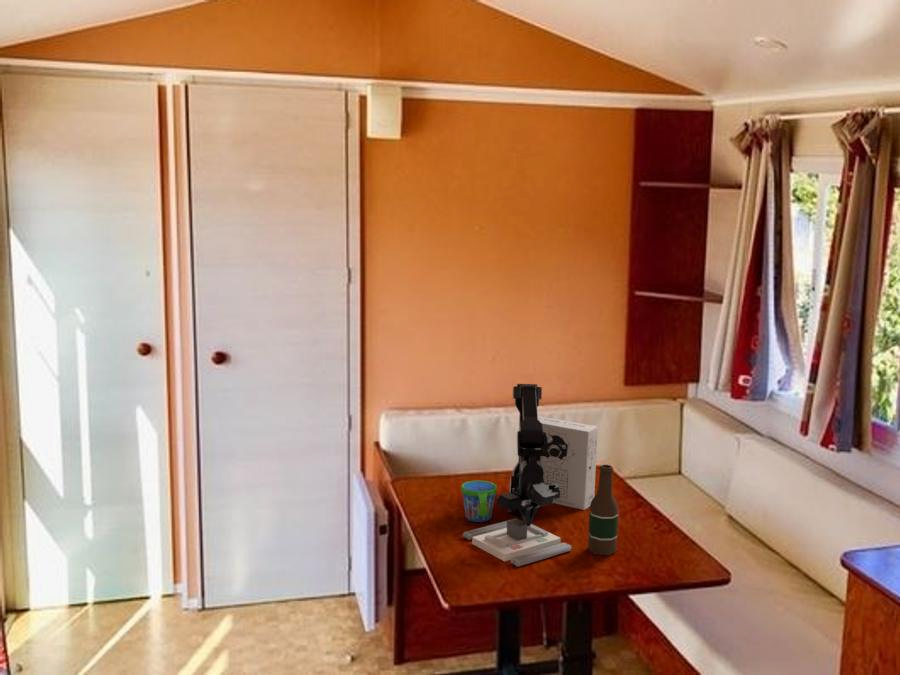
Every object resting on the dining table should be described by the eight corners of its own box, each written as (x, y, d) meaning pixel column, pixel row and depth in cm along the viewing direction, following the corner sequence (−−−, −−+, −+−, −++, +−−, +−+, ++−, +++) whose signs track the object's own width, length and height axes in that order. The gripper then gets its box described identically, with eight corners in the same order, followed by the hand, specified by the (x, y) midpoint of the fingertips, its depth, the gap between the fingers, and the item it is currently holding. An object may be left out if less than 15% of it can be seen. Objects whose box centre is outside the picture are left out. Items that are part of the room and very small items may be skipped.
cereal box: (594, 503, 281) (598, 426, 277) (584, 510, 275) (588, 431, 271) (532, 489, 293) (535, 415, 288) (521, 496, 286) (524, 420, 282)
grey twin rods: (515, 523, 263) (515, 517, 263) (573, 551, 244) (573, 545, 244) (461, 537, 252) (461, 531, 252) (517, 568, 233) (517, 561, 232)
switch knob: (514, 532, 250) (515, 518, 250) (526, 538, 246) (527, 524, 246) (506, 534, 249) (507, 520, 248) (518, 540, 245) (518, 526, 244)
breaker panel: (527, 528, 259) (527, 518, 259) (560, 544, 248) (560, 534, 248) (472, 543, 248) (472, 533, 247) (504, 561, 237) (504, 550, 236)
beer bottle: (599, 558, 240) (603, 472, 236) (581, 547, 247) (586, 463, 243) (622, 553, 244) (627, 468, 239) (604, 542, 250) (609, 460, 246)
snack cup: (459, 508, 274) (460, 476, 272) (493, 509, 274) (494, 477, 273) (461, 528, 259) (462, 494, 257) (498, 528, 259) (499, 495, 257)
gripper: (523, 486, 235) (521, 542, 238) (575, 473, 246) (572, 528, 249) (496, 474, 244) (494, 529, 246) (547, 463, 255) (545, 515, 257)
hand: (527, 525), depth 249 cm, fingers closed
